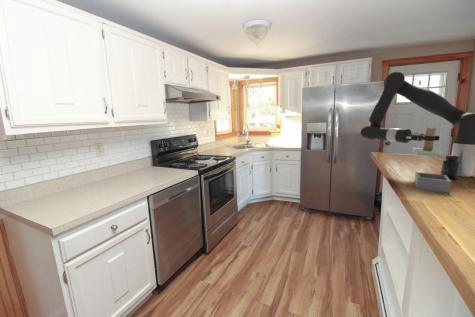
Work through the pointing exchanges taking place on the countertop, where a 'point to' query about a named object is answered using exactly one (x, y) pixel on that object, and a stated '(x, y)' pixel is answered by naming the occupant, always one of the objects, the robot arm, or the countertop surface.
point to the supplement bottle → (450, 167)
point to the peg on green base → (428, 145)
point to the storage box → (432, 182)
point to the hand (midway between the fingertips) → (436, 138)
